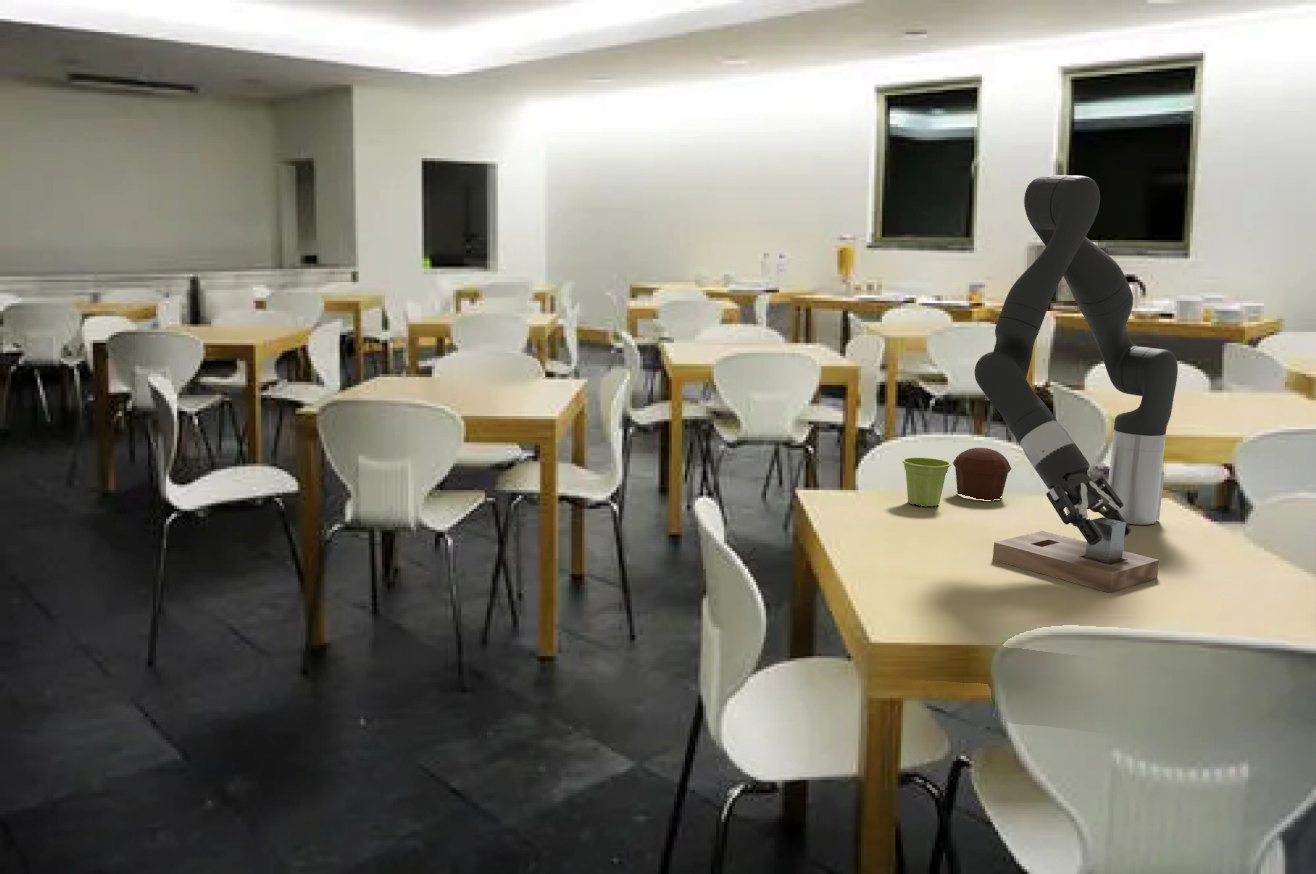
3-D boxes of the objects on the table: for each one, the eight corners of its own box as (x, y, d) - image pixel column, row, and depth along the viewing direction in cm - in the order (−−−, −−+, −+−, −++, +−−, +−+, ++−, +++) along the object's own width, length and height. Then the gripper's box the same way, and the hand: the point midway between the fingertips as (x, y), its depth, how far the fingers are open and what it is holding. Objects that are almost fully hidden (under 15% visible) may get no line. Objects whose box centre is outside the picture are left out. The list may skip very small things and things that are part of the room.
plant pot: (892, 498, 232) (895, 456, 231) (935, 498, 234) (938, 456, 232) (910, 509, 223) (913, 466, 221) (955, 509, 225) (958, 466, 223)
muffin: (1012, 495, 239) (1016, 448, 238) (1004, 505, 229) (1009, 456, 228) (955, 488, 244) (958, 442, 243) (945, 498, 234) (948, 450, 233)
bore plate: (1041, 547, 198) (1042, 530, 198) (1157, 578, 182) (1159, 560, 182) (992, 559, 190) (994, 542, 189) (1110, 592, 173) (1112, 573, 173)
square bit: (1096, 571, 185) (1102, 517, 183) (1119, 577, 182) (1125, 522, 180) (1083, 575, 182) (1088, 520, 181) (1106, 581, 179) (1112, 525, 178)
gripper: (1044, 445, 180) (1104, 532, 173) (1094, 438, 189) (1153, 520, 182) (1012, 472, 185) (1070, 558, 178) (1062, 463, 194) (1118, 545, 187)
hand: (1111, 538), depth 180 cm, fingers open, 8 cm apart
